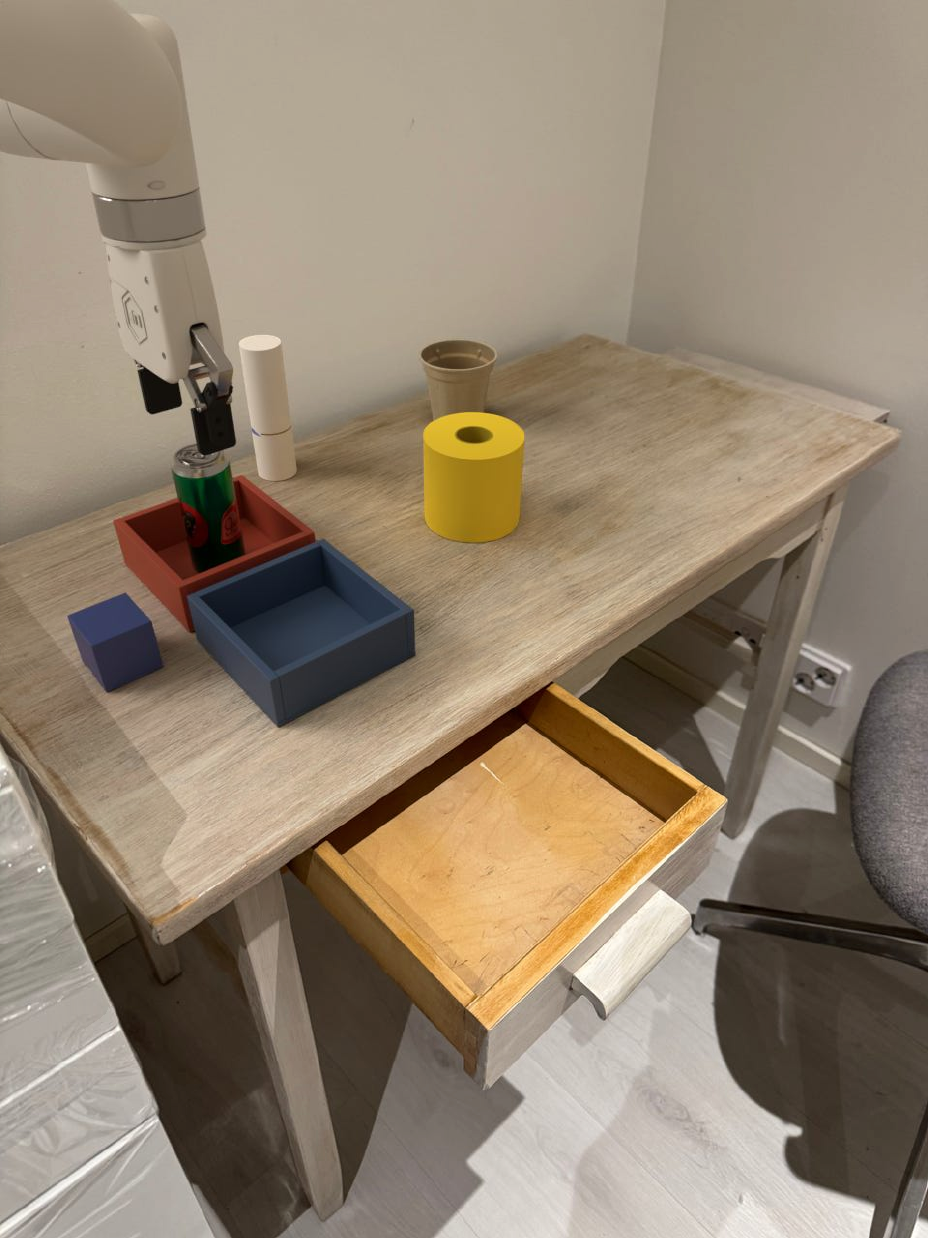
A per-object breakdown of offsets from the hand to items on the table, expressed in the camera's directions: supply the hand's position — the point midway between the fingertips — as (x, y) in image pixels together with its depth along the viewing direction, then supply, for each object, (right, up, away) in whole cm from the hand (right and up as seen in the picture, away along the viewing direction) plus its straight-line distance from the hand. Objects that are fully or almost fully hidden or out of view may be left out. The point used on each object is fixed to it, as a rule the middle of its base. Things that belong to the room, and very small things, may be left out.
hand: (190, 428), depth 76 cm
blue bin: (+10, -19, +1) cm, 21 cm away
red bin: (0, -11, +10) cm, 15 cm away
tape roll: (+24, -6, +18) cm, 31 cm away
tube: (+2, 0, +25) cm, 25 cm away
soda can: (0, -11, +10) cm, 15 cm away
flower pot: (+23, +8, +35) cm, 43 cm away
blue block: (-5, -20, -1) cm, 21 cm away
